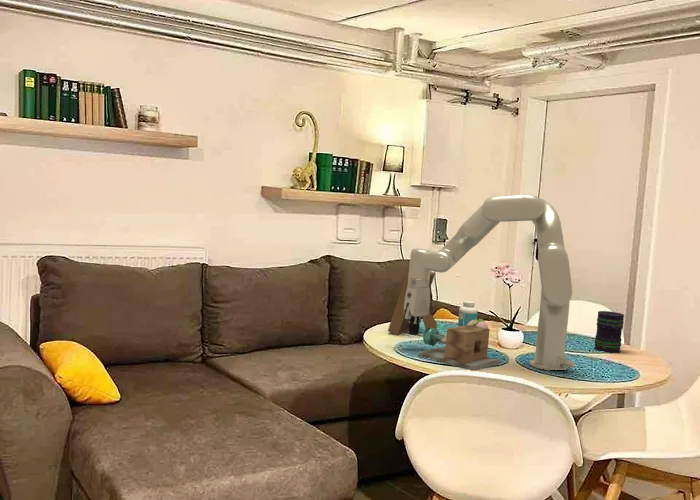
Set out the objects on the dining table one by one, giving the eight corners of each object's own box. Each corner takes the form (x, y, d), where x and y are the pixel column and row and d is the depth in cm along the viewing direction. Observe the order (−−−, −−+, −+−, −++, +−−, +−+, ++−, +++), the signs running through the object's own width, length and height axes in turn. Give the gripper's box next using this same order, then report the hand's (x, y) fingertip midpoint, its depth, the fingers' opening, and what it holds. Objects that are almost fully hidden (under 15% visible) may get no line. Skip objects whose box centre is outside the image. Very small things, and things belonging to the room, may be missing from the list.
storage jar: (622, 354, 272) (626, 316, 270) (595, 351, 274) (599, 313, 272) (617, 349, 281) (621, 312, 280) (592, 346, 283) (596, 310, 282)
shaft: (471, 352, 240) (472, 335, 239) (461, 354, 235) (463, 336, 235) (432, 343, 250) (433, 326, 250) (422, 345, 246) (423, 328, 245)
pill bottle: (478, 334, 290) (481, 302, 289) (471, 337, 283) (474, 304, 282) (461, 331, 294) (464, 299, 292) (454, 334, 287) (457, 301, 286)
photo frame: (387, 333, 277) (393, 270, 275) (407, 326, 296) (413, 267, 294) (422, 340, 270) (429, 275, 268) (440, 332, 290) (447, 272, 288)
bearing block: (498, 364, 238) (501, 330, 238) (473, 370, 226) (476, 335, 226) (443, 351, 253) (446, 319, 252) (418, 356, 241) (420, 323, 240)
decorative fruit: (468, 339, 279) (471, 314, 278) (489, 342, 275) (491, 317, 275) (461, 342, 271) (464, 317, 270) (482, 346, 267) (484, 320, 266)
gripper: (414, 286, 242) (409, 338, 244) (438, 284, 253) (433, 334, 255) (397, 282, 247) (392, 334, 248) (421, 281, 258) (417, 330, 260)
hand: (413, 334), depth 252 cm, fingers closed
